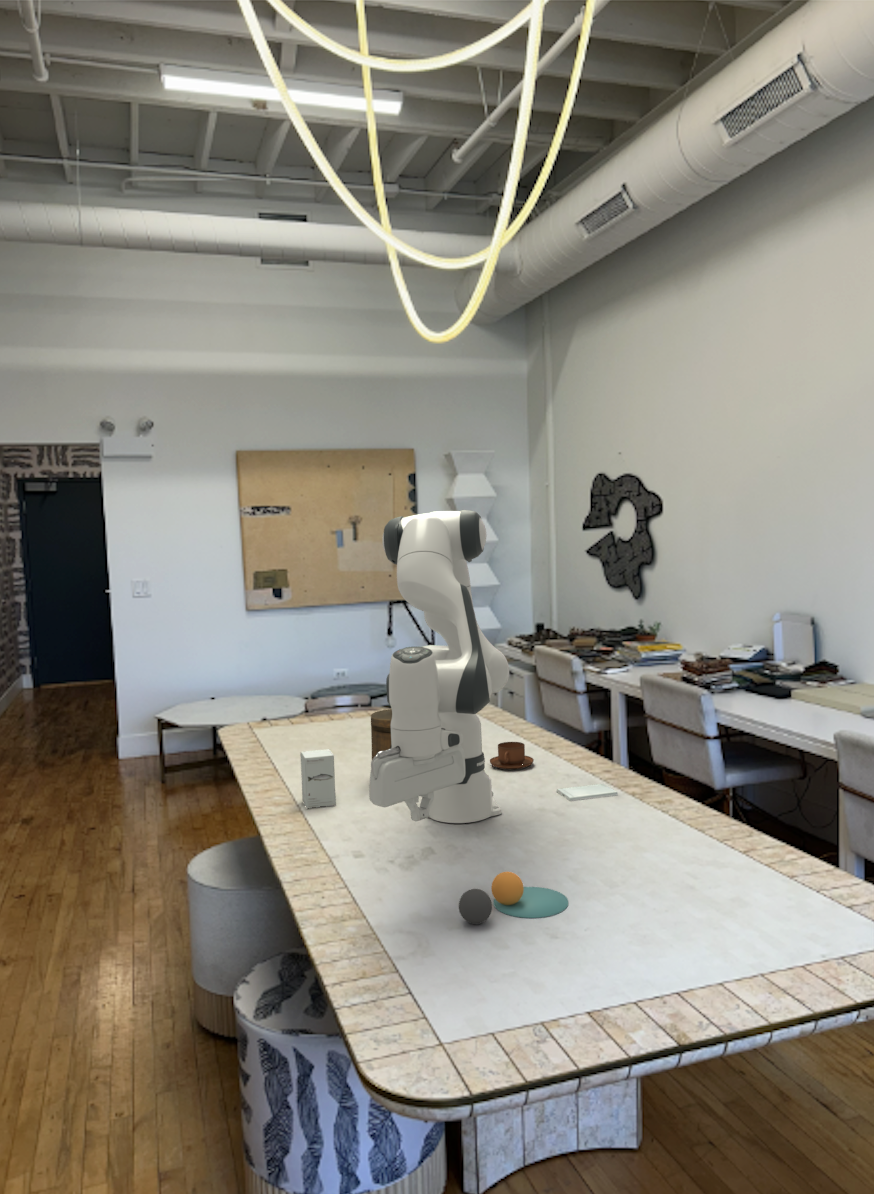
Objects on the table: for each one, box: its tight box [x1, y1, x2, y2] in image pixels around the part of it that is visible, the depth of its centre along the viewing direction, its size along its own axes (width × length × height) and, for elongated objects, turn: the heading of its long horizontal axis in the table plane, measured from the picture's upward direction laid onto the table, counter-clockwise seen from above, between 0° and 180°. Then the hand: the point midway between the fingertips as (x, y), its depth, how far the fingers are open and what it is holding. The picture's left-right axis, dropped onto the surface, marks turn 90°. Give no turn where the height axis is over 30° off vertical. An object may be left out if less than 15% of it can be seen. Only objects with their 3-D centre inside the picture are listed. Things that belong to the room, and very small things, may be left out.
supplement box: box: [299, 748, 337, 809], centre depth 224 cm, size 7×7×13 cm
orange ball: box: [491, 871, 525, 905], centre depth 161 cm, size 6×6×6 cm
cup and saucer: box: [489, 741, 535, 770], centre depth 253 cm, size 12×12×6 cm
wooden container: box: [370, 708, 392, 761], centre depth 240 cm, size 15×15×22 cm
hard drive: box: [556, 783, 618, 802], centre depth 225 cm, size 2×8×12 cm
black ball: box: [458, 888, 493, 925], centre depth 154 cm, size 6×6×6 cm
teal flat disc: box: [493, 886, 569, 919], centre depth 161 cm, size 13×13×1 cm
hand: (420, 818), depth 162 cm, fingers closed
